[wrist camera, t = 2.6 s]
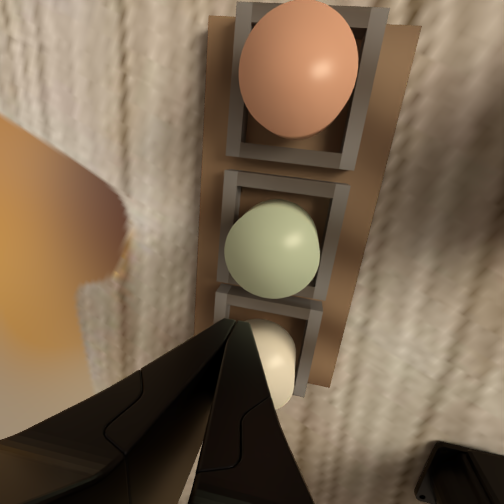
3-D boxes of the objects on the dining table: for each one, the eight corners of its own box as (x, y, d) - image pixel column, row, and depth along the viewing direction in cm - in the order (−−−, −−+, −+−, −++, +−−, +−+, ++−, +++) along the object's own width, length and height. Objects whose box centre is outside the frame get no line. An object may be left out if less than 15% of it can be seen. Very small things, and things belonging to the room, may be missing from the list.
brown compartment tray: (328, 377, 23) (330, 403, 20) (198, 349, 24) (186, 370, 22) (413, 33, 15) (434, 9, 13) (215, 23, 17) (199, -1, 14)
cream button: (290, 383, 20) (287, 420, 17) (224, 369, 21) (212, 402, 18) (301, 326, 19) (300, 356, 16) (230, 312, 19) (217, 339, 16)
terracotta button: (336, 144, 15) (343, 141, 12) (247, 135, 15) (233, 129, 13) (357, 35, 13) (371, 2, 10) (256, 29, 14) (244, -3, 11)
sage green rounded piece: (309, 282, 17) (310, 306, 15) (234, 269, 18) (221, 289, 15) (324, 205, 16) (328, 215, 13) (241, 193, 17) (228, 201, 14)
